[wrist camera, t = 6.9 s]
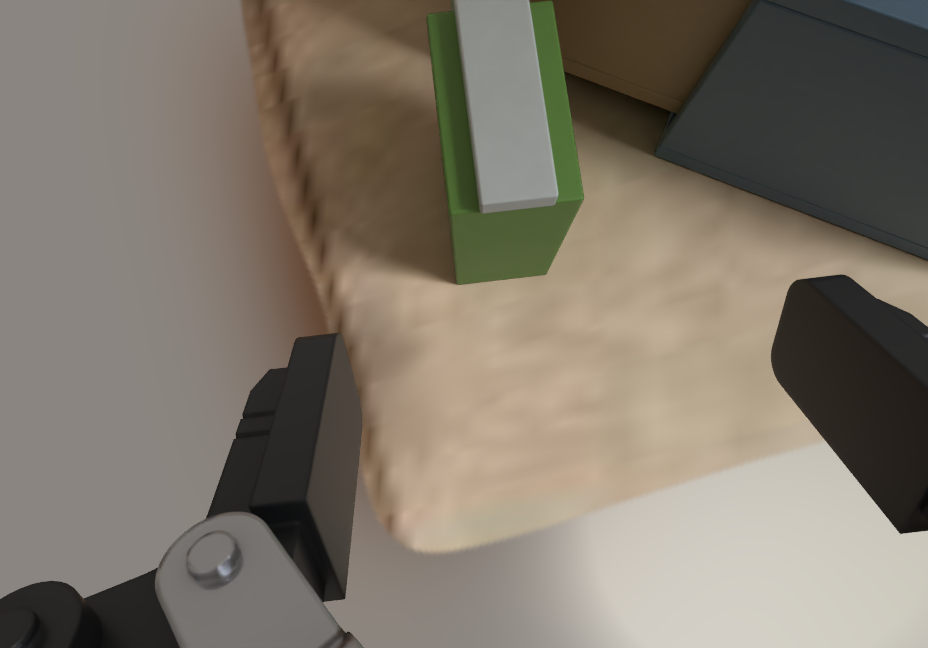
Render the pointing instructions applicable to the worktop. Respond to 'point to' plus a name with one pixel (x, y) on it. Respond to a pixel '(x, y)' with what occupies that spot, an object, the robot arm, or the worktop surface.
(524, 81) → the green white block
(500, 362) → the worktop surface
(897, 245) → the cabinet
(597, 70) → the drawer
